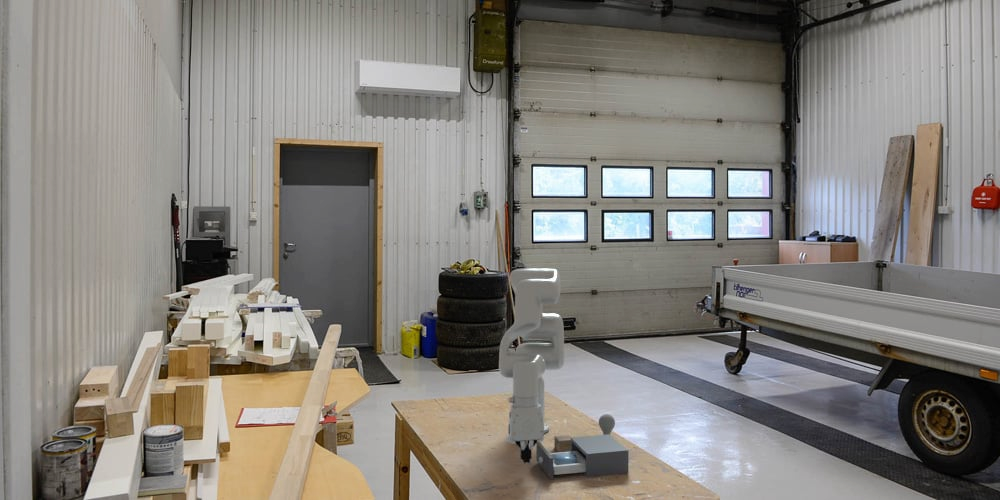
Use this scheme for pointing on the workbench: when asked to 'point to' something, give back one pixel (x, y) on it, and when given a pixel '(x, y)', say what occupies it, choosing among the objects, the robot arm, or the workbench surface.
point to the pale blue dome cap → (565, 458)
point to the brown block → (562, 443)
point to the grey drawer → (551, 468)
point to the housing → (601, 455)
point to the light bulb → (606, 423)
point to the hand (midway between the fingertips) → (526, 461)
